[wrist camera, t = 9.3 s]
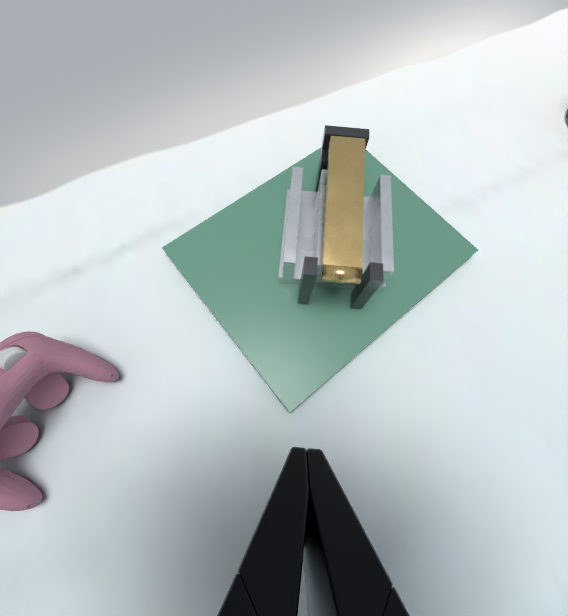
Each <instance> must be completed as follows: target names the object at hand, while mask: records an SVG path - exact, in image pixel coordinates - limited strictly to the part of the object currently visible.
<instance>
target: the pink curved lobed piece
mask: <svg viewBox="0 0 568 616" xmlns="http://www.w3.org/2000/svg"><path fill="white" fill-rule="evenodd" d="M60 372H65V373H71V374H76V375H79V376H83V377H86V378H90V379H93V380H97V381H105V382H111V381H116V380H118V378H119V373H118V371H117V370H116V368H115V367H114V366H112V365H111V364H110V363H108V362H107V361H105V360H103V359H102V358H100V357H98V356H96V355H94V354H92V353H89V352H87V351H85V350H84V349H82V348H79V347H76V346H74V345H71V344H68V343H65V342H62V341H59V340H56V339H53V338H49V337H46V336H45V335H43V334H40V333H37V332H22V333H18V334H15V335H13V336H10V337H8V338H7V339H5V340H3V341H2V342H1V343H0V461H1V460H4V459H7V458H11V457H14V456H18V455H20V454H23V453H25V452H26V451H28V450H29V449H30V448H31V447H32V446H33V445H34V444H35V442H36V440H37V438H38V435H39V430H38V427H37V426H36V425H35V424H34V423H33V422H32V421H31V420H30V419H29V418H27V417H25V416H14V417H10V416H11V415H12V413H13V412H14V411H15V409H16V408H17V406H18V405H19V404H20V402H21V401H22V400H23V398H25V399H27V401H28V402H29V403H30V404H31V405H32V406H33V407H35V408H37V409H43V410H45V409H50V408H53V407H55V406H56V405H58V404H59V403H61V402H62V401H63V400H64V399H65V398H66V396H67V394H68V392H69V385H68V383H67V381H66V380H65V379H64V378H63V377H62V375H61V373H60ZM41 501H42V493H41V492H40V491H39V489H38V488H37V487H36V486H35V485H34V484H32V483H31V482H30V481H28V480H27V479H25V478H23V477H21V476H19V475H16V474H14V473H12V472H10V471H8V470H5V469H3V468H0V510H7V511H21V510H27V509H31V508H33V507H36V506H37V505H38V504H39V503H40V502H41Z"/></svg>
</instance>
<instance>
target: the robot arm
mask: <svg viewBox="0 0 568 616" xmlns="http://www.w3.org/2000/svg"><path fill="white" fill-rule="evenodd" d="M303 559H304V571H305V582H306V594H307V606H308V616H410V615H409V614H408V612H407V610H406V608H405V606H404V604H403V602H402V601H401V599H400V597H399V595H398V593H397V591H396V589H395V588H394V587H392V582H391V580H390V578H389V576H388V574H387V572H386V571H385V569H384V567H383V565H382V563H381V561H380V559H379V557H378V555H377V554H376V552H375V550H374V548H373V546H372V544H371V542H370V540H369V538H368V537H367V535H366V533H365V531H364V529H363V527H362V525H361V523H360V521H359V520H358V518H357V516H356V514H355V512H354V510H353V508H352V506H351V504H350V502H349V501H348V499H347V497H346V495H345V493H344V491H343V489H342V487H341V485H340V484H339V482H338V480H337V478H336V476H335V474H334V472H333V470H332V468H331V467H330V465H329V463H328V461H327V459H326V457H325V455H324V453H323V452H322V451H321V450H320V449H310V448H309V449H307V451H306V449H305V448H299V447H293V448H291V450H290V452H289V455H288V457H287V459H286V462H285V464H284V466H283V468H282V471H281V473H280V475H279V478H278V480H277V482H276V484H275V487H274V489H273V491H272V494H271V496H270V498H269V500H268V503H267V505H266V507H265V510H264V512H263V514H262V516H261V519H260V521H259V523H258V526H257V528H256V530H255V533H254V535H253V537H252V539H251V542H250V544H249V546H248V549H247V551H246V553H245V555H244V558H243V560H242V562H241V565H240V567H239V569H238V573H237V574H236V575H235V578H234V580H233V582H232V585H231V587H230V589H229V591H228V594H227V596H226V598H225V600H224V602H223V604H222V606H221V609H220V611H219V613H218V615H217V616H297V615H298V604H299V594H300V584H301V574H302V563H303Z"/></svg>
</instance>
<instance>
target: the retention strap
mask: <svg viewBox="0 0 568 616" xmlns="http://www.w3.org/2000/svg"><path fill="white" fill-rule="evenodd" d="M364 173H365V139H364V138H352V137H341V136H331V138H330V142H329V154H328V170H327V186H326V203H325V219H324V236H323V252H322V269H321V281H326V282H337V283H348V284H360V283H361V280H362V274H363V270H362V251H363V212H364Z"/></svg>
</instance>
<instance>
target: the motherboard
mask: <svg viewBox="0 0 568 616" xmlns="http://www.w3.org/2000/svg"><path fill="white" fill-rule="evenodd" d="M321 149H322V147H321V148H320V149H318V150H316V151H315V152H313V153H312V154H310V155H308V156H307V157H305V158H304V159H302V160H300V161H299V162H297V163H296V164H294V165H293V166H291V167H289V168H288V169H286V170H285V171H283V172H281V173H280V174H278V175H277V176H275V177H273V178H272V179H270V180H269V181H267V182H266V183H264V184H262V185H261V186H259V187H258V188H256V189H254V190H253V191H251V192H250V193H248V194H246V195H245V196H243V197H242V198H240V199H239V200H237V201H235V202H234V203H232V204H231V205H229V206H227V207H226V208H224V209H223V210H221V211H219V212H218V213H216V214H215V215H213V216H212V217H210V218H208V219H207V220H205V221H204V222H202V223H200V224H199V225H197V226H196V227H194V228H192V229H191V230H189V231H188V232H186V233H185V234H183V235H181V236H180V237H178V238H177V239H175V240H173V241H172V242H170V243H169V244H167V245H165V246H164V247H162V248H163V250H164V251H165V253H166V254H167V256H168V257H169V258H170V259H171V261H172V262H173V263H174V265H175V266H176V267H177V268H178V270H179V271H180V272H181V274H182V275H183V276H184V277H185V279H186V280H187V281H188V283H189V284H190V285H191V287H192V288H193V289H194V290H195V292H196V293H197V294H198V296H199V297H200V298H201V299H202V301H203V302H204V303H205V305H206V306H207V307H208V308H209V310H210V311H211V312H212V314H213V315H214V316H215V317H216V319H217V320H218V321H219V323H220V324H221V325H222V326H223V328H224V329H225V330H226V332H227V333H228V334H229V335H230V337H231V338H232V339H233V341H234V342H235V343H236V345H237V346H238V347H239V348H240V350H241V351H242V352H243V354H244V355H245V356H246V357H247V359H248V360H249V361H250V363H251V364H252V365H253V366H254V368H255V369H256V370H257V372H258V373H259V374H260V375H261V377H262V378H263V379H264V381H265V382H266V383H267V384H268V386H269V387H270V388H271V390H272V391H273V392H274V393H275V395H276V396H277V397H278V399H279V400H280V401H281V403H282V404H283V405H284V406H285V408H286V409H287V410H288V412H289V413H290V412H291V411H292V410H293V409H294V408H296V407H297V406H298V405H299V404H300V403H301V402H303V401H304V400H305V399H306V398H307V397H308V396H310V395H311V394H312V393H313V392H314V391H315V390H317V389H318V388H319V387H320V386H321V385H322V384H323V383H325V382H326V381H327V380H328V379H329V378H330V377H332V376H333V375H334V374H335V373H336V372H337V371H339V370H340V369H341V368H342V367H343V366H344V365H346V364H347V363H348V362H349V361H350V360H351V359H352V358H354V357H355V356H356V355H357V354H358V353H359V352H361V351H362V350H363V349H364V348H365V347H366V346H368V345H369V344H370V343H371V342H372V341H373V340H375V339H376V338H377V337H378V336H379V335H380V334H381V333H383V332H384V331H385V330H386V329H387V328H388V327H390V326H391V325H392V324H393V323H394V322H395V321H397V320H398V319H399V318H400V317H401V316H402V315H404V314H405V313H406V312H407V311H408V310H409V309H411V308H412V307H413V306H414V305H415V304H416V303H417V302H419V301H420V300H421V299H422V298H423V297H424V296H426V295H427V294H428V293H429V292H430V291H431V290H433V289H434V288H435V287H436V286H437V285H438V284H440V283H441V282H442V281H443V280H444V279H445V278H446V277H448V276H449V275H450V274H451V273H452V272H453V271H455V270H456V269H457V268H458V267H459V266H460V265H462V264H463V263H464V262H465V261H466V260H467V259H469V258H470V257H471V256H472V255H473V254H474V253H475V252H477V251H478V249H477V248H476V247H474V246H473V245H472V244H471V243H470V242H469V241H468V240H467V239H465V238H464V237H463V236H462V235H461V234H460V233H459V232H458V231H456V230H455V229H454V228H453V227H452V226H451V225H450V224H449V223H448V222H446V221H445V220H444V219H443V218H442V217H441V216H440V215H439V214H437V213H436V212H435V211H434V210H433V209H432V208H431V207H430V206H428V205H427V204H426V203H425V202H424V201H423V200H422V199H421V198H419V197H418V196H417V195H416V194H415V193H414V192H413V191H412V190H410V189H409V188H408V187H407V186H406V185H405V184H404V183H403V182H402V181H400V180H399V179H398V178H397V177H396V176H395V175H394V174H393V173H391V172H390V171H389V170H388V169H387V168H386V167H385V166H384V165H382V164H381V163H380V162H379V161H378V160H377V159H376V158H375V157H373V156H372V155H371V154H370V153H369V152H368V151H367V150H366V149H365V173H364V196H368V197H371V194H372V192H373V190H374V188H375V185H376V183H377V181H378V178H379V176H380V175H390V176H391V197H392V226H393V255H394V272H393V274H392V275H391V276H390V277H389V278H388V280H387V281H386V287H385V289H384V290H383V291H382V292H377V291H375V293H374V294H373V295H372V296H371V298H370V299H369V300H368V301H367V303H366V304H365V305H364V306H363V308H362V309H361V310H360V309H350V297H351V292H352V291H353V289H344V288H333V287H321V286H314V287H313V290H312V293H311V297H310V300H309V303H308V305H304V304H298V291H299V284H288V283H278V277H279V267H280V257H281V247H282V237H283V227H284V217H285V207H286V197H287V189H290V188H291V178H292V167H301V168H303V176H302V188H301V191H312V192H315V188H316V177H317V172H318V166H319V160H320V154H321Z"/></svg>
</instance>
